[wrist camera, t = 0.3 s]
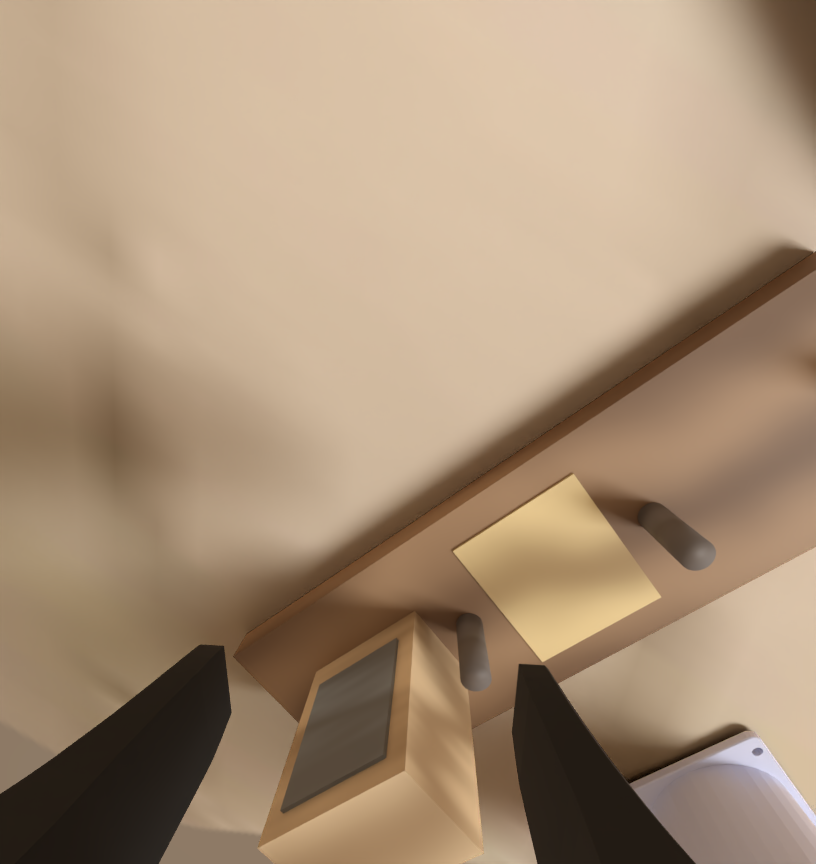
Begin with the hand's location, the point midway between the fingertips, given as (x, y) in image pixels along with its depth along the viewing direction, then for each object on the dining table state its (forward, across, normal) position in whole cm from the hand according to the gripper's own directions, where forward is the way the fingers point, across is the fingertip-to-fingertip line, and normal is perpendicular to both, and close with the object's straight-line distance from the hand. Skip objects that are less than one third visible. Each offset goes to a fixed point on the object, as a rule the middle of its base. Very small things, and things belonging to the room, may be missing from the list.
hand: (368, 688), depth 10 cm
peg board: (+10, -7, +2) cm, 12 cm away
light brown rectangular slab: (+8, 0, +8) cm, 11 cm away
